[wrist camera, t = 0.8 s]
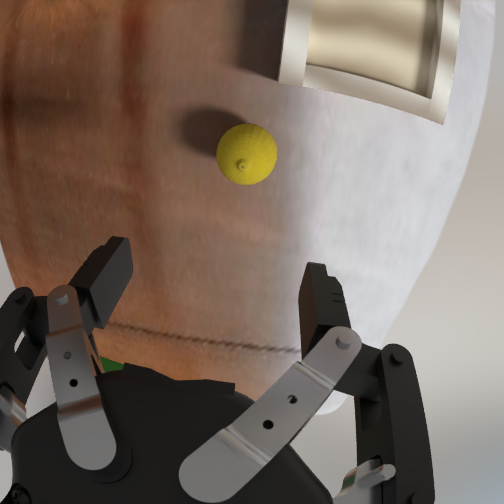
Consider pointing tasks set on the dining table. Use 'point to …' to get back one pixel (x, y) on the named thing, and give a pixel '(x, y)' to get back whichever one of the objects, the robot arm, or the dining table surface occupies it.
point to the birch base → (374, 51)
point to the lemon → (246, 154)
